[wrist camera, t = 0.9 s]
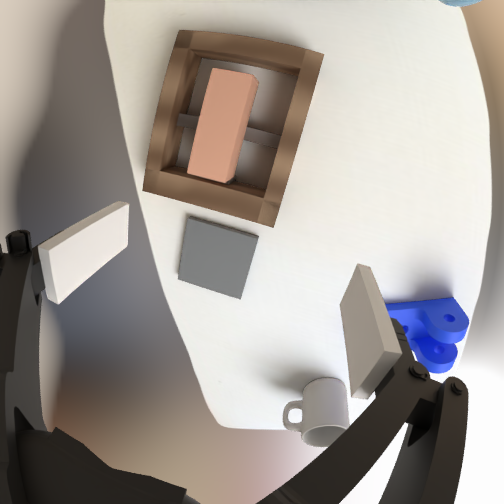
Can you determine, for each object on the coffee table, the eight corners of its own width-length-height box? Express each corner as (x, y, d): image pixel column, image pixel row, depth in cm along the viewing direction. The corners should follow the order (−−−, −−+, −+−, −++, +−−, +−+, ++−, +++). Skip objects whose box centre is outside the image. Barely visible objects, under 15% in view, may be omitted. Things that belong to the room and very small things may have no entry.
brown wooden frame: (193, 40, 29) (179, 29, 25) (320, 64, 29) (324, 54, 24) (159, 183, 38) (142, 190, 34) (276, 216, 38) (273, 227, 33)
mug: (348, 375, 47) (354, 423, 37) (343, 402, 50) (346, 446, 40) (284, 377, 49) (279, 425, 39) (285, 403, 52) (281, 447, 42)
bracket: (453, 296, 38) (475, 328, 30) (441, 335, 41) (459, 369, 33) (354, 305, 41) (364, 343, 33) (349, 345, 44) (356, 384, 36)
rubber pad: (190, 216, 39) (187, 218, 39) (258, 236, 39) (257, 239, 38) (180, 276, 44) (177, 279, 43) (241, 295, 43) (240, 299, 42)
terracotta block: (223, 75, 29) (212, 67, 25) (259, 82, 29) (253, 74, 25) (199, 168, 34) (186, 173, 30) (233, 176, 34) (224, 183, 30)
